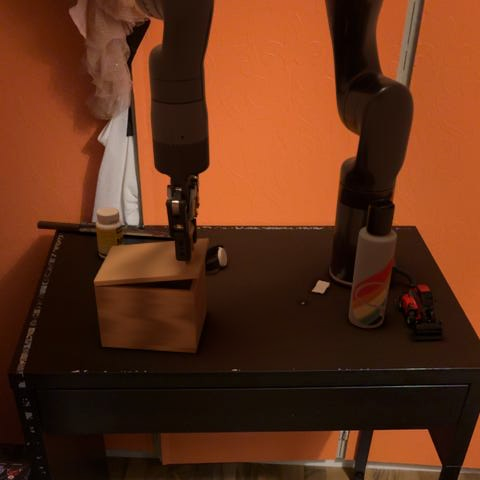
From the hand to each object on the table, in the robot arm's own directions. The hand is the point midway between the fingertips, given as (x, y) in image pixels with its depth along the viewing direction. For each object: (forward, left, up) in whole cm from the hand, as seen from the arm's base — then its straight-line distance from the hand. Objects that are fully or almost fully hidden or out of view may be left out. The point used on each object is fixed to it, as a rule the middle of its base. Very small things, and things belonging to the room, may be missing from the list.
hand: (186, 250), depth 108 cm
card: (-20, -15, -14) cm, 28 cm away
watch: (-1, -23, -14) cm, 27 cm away
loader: (-36, -8, -14) cm, 40 cm away
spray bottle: (-28, -7, -14) cm, 32 cm away
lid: (+5, 0, -2) cm, 6 cm away
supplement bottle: (+18, -25, -14) cm, 34 cm away
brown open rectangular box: (+5, 0, -14) cm, 15 cm away
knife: (+5, -33, -13) cm, 36 cm away
